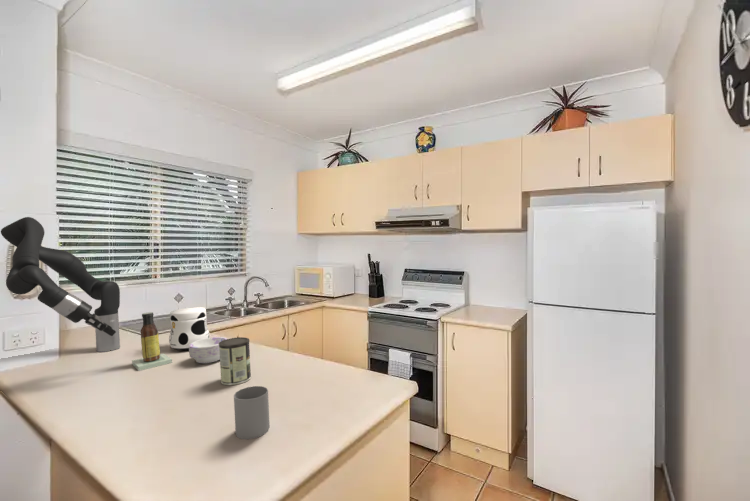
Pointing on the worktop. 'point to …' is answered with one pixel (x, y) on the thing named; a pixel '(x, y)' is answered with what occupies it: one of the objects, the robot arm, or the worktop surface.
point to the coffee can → (235, 361)
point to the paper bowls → (206, 350)
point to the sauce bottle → (149, 338)
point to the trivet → (151, 362)
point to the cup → (251, 412)
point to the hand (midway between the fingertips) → (112, 331)
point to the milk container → (187, 327)
